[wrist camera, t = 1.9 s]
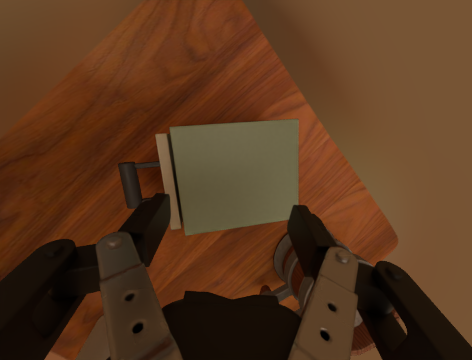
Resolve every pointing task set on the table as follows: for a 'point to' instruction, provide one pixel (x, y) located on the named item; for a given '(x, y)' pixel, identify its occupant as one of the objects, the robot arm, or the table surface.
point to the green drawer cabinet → (236, 173)
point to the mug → (301, 287)
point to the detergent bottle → (96, 343)
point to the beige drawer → (168, 174)
